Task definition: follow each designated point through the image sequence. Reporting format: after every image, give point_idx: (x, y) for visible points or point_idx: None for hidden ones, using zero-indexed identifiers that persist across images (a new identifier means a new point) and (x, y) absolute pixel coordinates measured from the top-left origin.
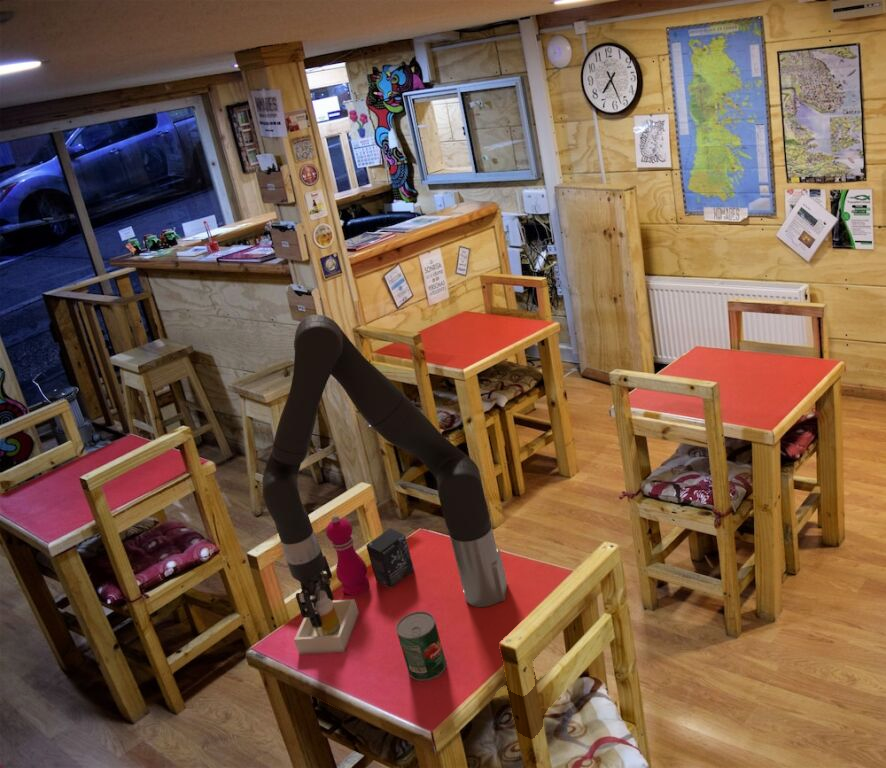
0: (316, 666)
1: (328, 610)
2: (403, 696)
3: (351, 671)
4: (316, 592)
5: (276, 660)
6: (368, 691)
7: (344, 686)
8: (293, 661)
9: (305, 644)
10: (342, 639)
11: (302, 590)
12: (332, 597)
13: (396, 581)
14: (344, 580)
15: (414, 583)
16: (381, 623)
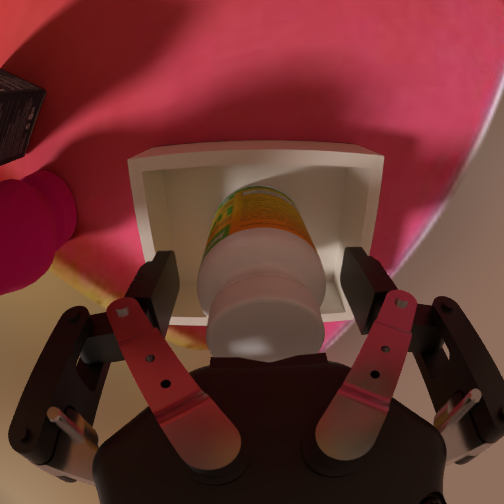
0: (397, 220)
1: (301, 243)
2: (484, 3)
3: (432, 111)
4: (394, 384)
5: (345, 326)
6: (483, 69)
7: (470, 128)
8: None
9: None
10: (357, 149)
11: (453, 461)
12: (165, 256)
13: (27, 83)
14: (48, 243)
15: (38, 34)
16: (213, 42)
